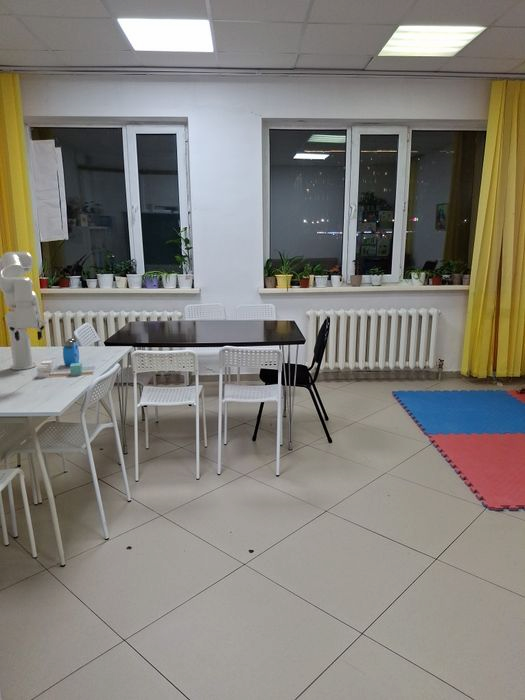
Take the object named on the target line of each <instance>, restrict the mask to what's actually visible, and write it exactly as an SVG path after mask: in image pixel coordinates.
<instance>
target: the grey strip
mask: <svg viewBox="0 0 525 700" xmlns="http://www.w3.org/2000/svg"><path fill="white" fill-rule="evenodd" d="M41 365H49V372H50V374H52V373H67V372H70V367H62V368H54V366H53V365H54V363H53V360H42V362H41V363H40V366H41ZM95 369H96V366H95V365H94V366H93V365H92V366H82V371H94V370H95Z"/></svg>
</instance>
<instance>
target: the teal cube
mask: <svg viewBox="0 0 525 700" xmlns="http://www.w3.org/2000/svg"><path fill="white" fill-rule="evenodd" d="M82 365H83V364H82V362H79V363H73V364H71V365H70V366H69V368H70V371H69V373H71V376H70V377H73V376H72V375H81V374H82V372H83V370H82V367H83V366H82ZM81 376H82V375H81Z"/></svg>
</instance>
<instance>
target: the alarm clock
mask: <svg viewBox="0 0 525 700" xmlns="http://www.w3.org/2000/svg"><path fill="white" fill-rule="evenodd" d="M62 346H63V347H62V358H63V364H64V365H65V366H67V367H70V365H71V364H73V363H80V349H79V345H78V342H77V340H76V339H74V338H68V339H67V340H66V341H65V342H64V344H63V345H62Z"/></svg>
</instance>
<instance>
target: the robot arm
mask: <svg viewBox="0 0 525 700" xmlns="http://www.w3.org/2000/svg"><path fill="white" fill-rule="evenodd" d="M33 266H34V260H33V256H32V255H31V254H30V253H29V252H28V251H7V252H5V253H2V255H1V258H0V291H1V292H2V293H3V297H4V302H5V305H6V308H8V309H10V310H9V311H7V312H6V314H5V316H4V317H5V323H6V326H7V331H8V334H9V335H8V336H9V342H10V351H11V358H12V364H11V365H10V370H13V371H14V370H15V371H21V370H22V369H23V370H29V369H32V368H33V369H34V368H35V367H36V366H37V363H36V362H33V355H32V354H33V353H32V347H31V339H30V334H29V333H28V332H27V330H25V329H35V330H36V331H37V332H36V333H37V340H38V341H40V340H41V339H42V338H43V334H42V333H43V332H42V331H43V330H44V329H45V327H46V325H47V321H46V320H43V317H42V313H41V307H40V302H39V298H38V294H37V293H36V292H35V291H33V289H34V283H33V280H32V279H31V278H30V277H29V276H23V275H24V274H29V273H31V270H32V269H33ZM41 324H42V326H40V325H41Z"/></svg>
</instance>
